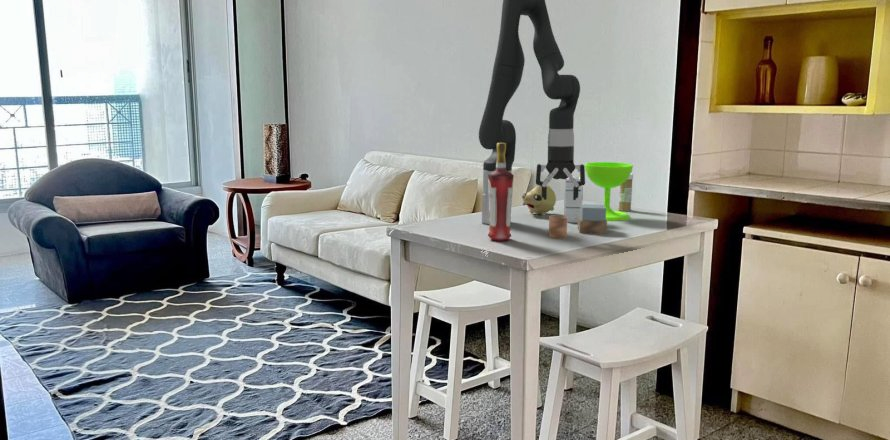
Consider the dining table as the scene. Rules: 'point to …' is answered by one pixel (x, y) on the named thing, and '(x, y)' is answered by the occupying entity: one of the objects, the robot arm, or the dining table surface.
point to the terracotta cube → (557, 226)
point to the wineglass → (609, 182)
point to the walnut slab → (592, 226)
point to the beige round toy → (539, 200)
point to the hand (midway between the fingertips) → (559, 199)
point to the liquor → (500, 198)
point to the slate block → (593, 212)
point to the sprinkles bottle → (625, 195)
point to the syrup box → (572, 201)
